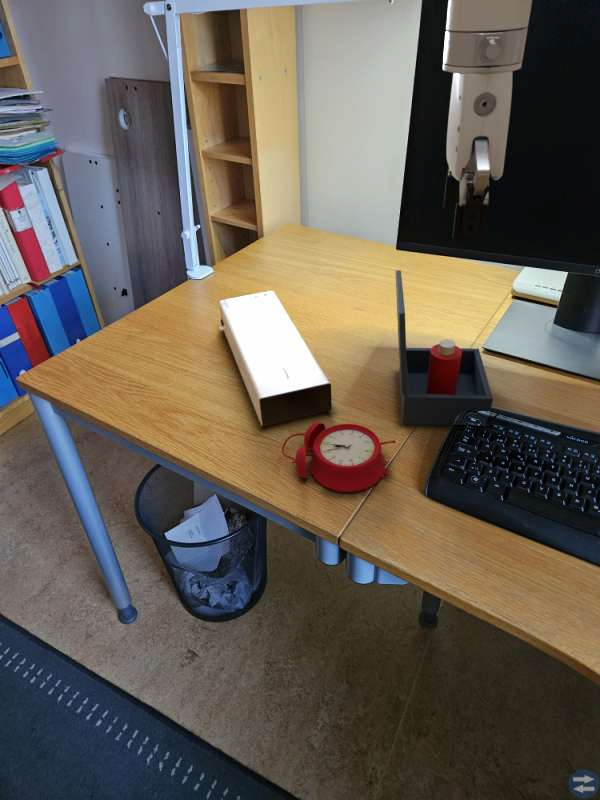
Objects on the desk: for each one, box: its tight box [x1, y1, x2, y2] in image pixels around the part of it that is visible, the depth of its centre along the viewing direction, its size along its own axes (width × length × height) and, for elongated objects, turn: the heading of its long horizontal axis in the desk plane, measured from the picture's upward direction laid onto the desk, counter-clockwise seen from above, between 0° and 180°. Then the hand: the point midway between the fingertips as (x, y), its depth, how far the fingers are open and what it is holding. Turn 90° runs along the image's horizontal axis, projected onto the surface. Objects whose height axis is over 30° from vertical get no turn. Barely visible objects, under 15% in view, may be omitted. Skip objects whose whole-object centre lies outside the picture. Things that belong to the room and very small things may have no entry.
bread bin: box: [398, 347, 494, 427], centre depth 88 cm, size 13×14×5 cm
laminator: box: [218, 289, 333, 428], centre depth 98 cm, size 34×12×6 cm, turn 17°
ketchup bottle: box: [426, 338, 462, 395], centre depth 86 cm, size 5×5×10 cm
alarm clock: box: [281, 421, 396, 493], centre depth 78 cm, size 10×6×15 cm
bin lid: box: [395, 269, 407, 394], centre depth 83 cm, size 13×14×1 cm
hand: (461, 224), depth 65 cm, fingers open, 9 cm apart
